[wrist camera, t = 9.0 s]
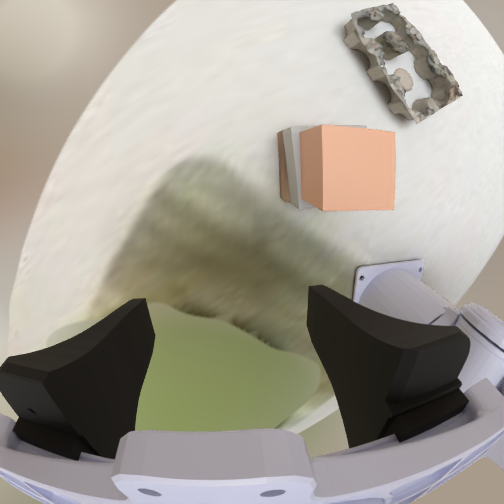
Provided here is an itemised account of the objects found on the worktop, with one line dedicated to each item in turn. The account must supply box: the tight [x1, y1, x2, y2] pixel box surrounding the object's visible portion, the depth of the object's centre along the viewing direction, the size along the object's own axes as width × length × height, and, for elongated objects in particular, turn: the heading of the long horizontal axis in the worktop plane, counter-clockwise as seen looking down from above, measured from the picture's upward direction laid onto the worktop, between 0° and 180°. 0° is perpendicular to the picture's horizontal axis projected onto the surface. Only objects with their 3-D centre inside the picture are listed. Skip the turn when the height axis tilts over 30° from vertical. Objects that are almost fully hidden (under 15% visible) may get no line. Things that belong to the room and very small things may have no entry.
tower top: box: [283, 125, 367, 209], centre depth 17 cm, size 5×5×2 cm
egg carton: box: [343, 3, 463, 124], centre depth 15 cm, size 11×8×4 cm
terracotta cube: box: [299, 125, 396, 211], centre depth 14 cm, size 4×4×4 cm
